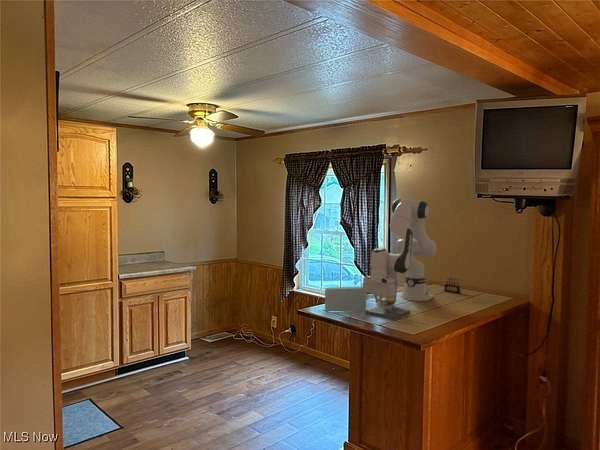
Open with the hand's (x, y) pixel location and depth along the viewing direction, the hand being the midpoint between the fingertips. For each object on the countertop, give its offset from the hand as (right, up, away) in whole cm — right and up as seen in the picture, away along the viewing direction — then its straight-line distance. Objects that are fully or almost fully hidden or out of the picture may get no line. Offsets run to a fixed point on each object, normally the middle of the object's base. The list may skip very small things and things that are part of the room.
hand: (378, 302), depth 245 cm
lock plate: (+7, -7, +6) cm, 12 cm away
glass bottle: (+10, -7, +26) cm, 28 cm away
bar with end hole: (-17, -7, +14) cm, 23 cm away
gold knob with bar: (+4, -1, +1) cm, 4 cm away
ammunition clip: (+63, -5, +67) cm, 92 cm away
